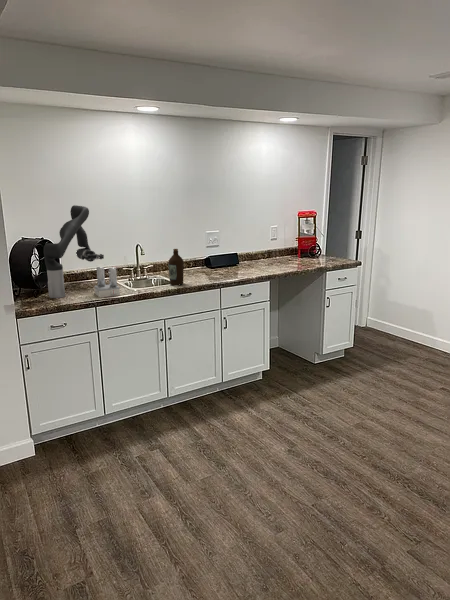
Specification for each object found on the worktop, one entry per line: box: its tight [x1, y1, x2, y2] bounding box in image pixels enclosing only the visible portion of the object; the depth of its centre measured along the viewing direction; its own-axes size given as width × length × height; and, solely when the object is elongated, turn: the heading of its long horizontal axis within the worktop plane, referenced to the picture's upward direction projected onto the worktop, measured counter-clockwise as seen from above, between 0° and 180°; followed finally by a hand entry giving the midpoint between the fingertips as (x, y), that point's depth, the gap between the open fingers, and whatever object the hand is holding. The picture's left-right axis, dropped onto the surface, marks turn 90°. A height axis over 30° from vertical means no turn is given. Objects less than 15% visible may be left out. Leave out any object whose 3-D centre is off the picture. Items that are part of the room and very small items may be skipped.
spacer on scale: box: [108, 267, 118, 288], centre depth 287 cm, size 5×5×12 cm
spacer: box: [96, 266, 106, 287], centre depth 290 cm, size 5×5×12 cm
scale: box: [93, 283, 121, 298], centre depth 290 cm, size 13×12×5 cm
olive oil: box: [167, 248, 185, 286], centre depth 316 cm, size 11×11×25 cm
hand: (94, 258), depth 298 cm, fingers open, 8 cm apart
